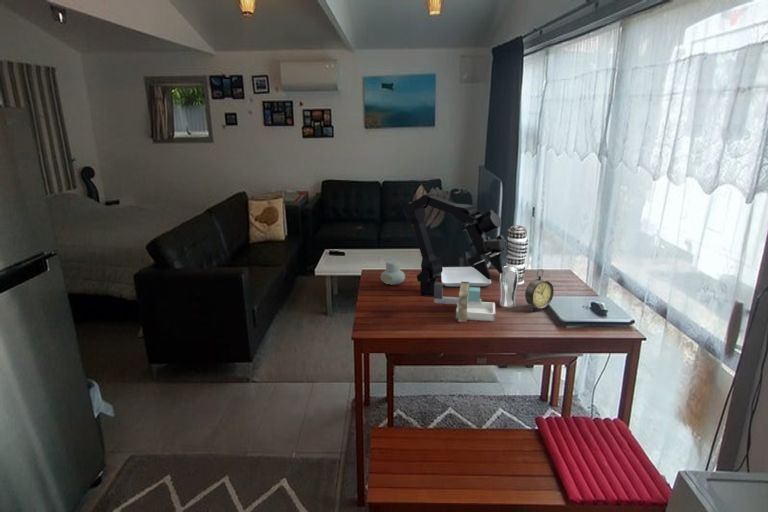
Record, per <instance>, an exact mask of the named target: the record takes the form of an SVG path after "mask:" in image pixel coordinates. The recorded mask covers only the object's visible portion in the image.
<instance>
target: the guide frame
mask: <svg viewBox="0 0 768 512" xmlns="http://www.w3.org/2000/svg"><path fill="white" fill-rule="evenodd" d="M458 292H459V293H458V297H459V311H458V319H457V322H458V323H467V321H468V320H467V303H468V298H469V282H461V286H460V287H459V291H458Z"/></svg>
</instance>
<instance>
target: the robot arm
mask: <svg viewBox="0 0 768 512" xmlns="http://www.w3.org/2000/svg"><path fill="white" fill-rule="evenodd" d="M429 207H431V208H434V209H436V210H439V211H441V212H444V213H446V214H449V215H450V216H452V217H453V219H454V220H456V221H458V222H459V223H462V224H461V228H460V232H465V231H466V234H467V235H468V238H469V241H470V242H471V243H470V244H469V246H470V247H473V249H474V250H475V254H474V255H472V256H470V257H468V258H467V260H466V263H467V265H468V267H473V268H475V269H476V270H477V271H479V272H480V273H481V274H482V275H484V276H485V277H486V278H487V279H488V280H489V279H490V280H491V279H492V277H491V273H490V271H489V268H488V261H489V262H490V263H491V264H492V266H493V267H494V268H495V270H496V271H497V272H498V273H499V274H500V273H502V272H503V271H502V267H503V264H502V256H503V254H504V251H506V250H505V249H506V242H507V240H506V238H505V237H504V235H501V234H500V235H497V236H496V237H495V238H492V239H491V237H490V236H489V235H486V234H487V233H490V232H492V231H495V230H496V229H498V228H500V227H501V226H502V219H501V217H500V216H499V215H498V214H497V213H495V212H494V210H493V209H489V210H488V211H487V212H485V213H483V212H481V211H480V210H478V209H477V207H476V206H475V205H472V204H467V203H466V204H465V203H455V202H453V201H450V200H447V199H446V198H442V197H439V196H438V195H434V194H433V193H426V194H423V195H422V196H420V197H419V198H417V199H415V200H414V201H411V202H407V203H405V205H404V207H403V213H404V214H405V217H406V220H407V221H408V222H409V223H410V224H411V225H412V228H413V232H414V234H415V239H416V241H417V245H418V248H419V253H420V255H421V259H422V260H421V263H420V267H421V271H420V273H418V274H417V275H416V278H417V282H419V285H420V287H419V288H420V292H419V296H423V297H424V296H425V297H434V284H435V282H437V279H440V278H439V277H440V276H441V273H442V271H443V269H442V267H444V265H443V264H442V259H441V257H437V256H436V255H435V253H434V251H433V248H432V247H433V246H432V244H431V240H430V237H429V233H428V230H427V227H426V223H425V217H426V209H427V208H429Z"/></svg>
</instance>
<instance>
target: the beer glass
mask: <svg viewBox="0 0 768 512" xmlns="http://www.w3.org/2000/svg"><path fill="white" fill-rule="evenodd" d="M518 270H519V269H518V268H517V267H513V266H506V265H504V266H502V271H503V272H502V273H499V274H500V275H499V286H500V287H499V288H500V300H499V306H501V307H502V308H508V309H511V308H514V307H516V293H517V289H518V286H519V285H518V279H519V271H518Z"/></svg>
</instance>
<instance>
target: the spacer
mask: <svg viewBox="0 0 768 512" xmlns="http://www.w3.org/2000/svg"><path fill="white" fill-rule="evenodd" d="M480 299H481V287H469V301H475V302H480Z"/></svg>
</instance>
